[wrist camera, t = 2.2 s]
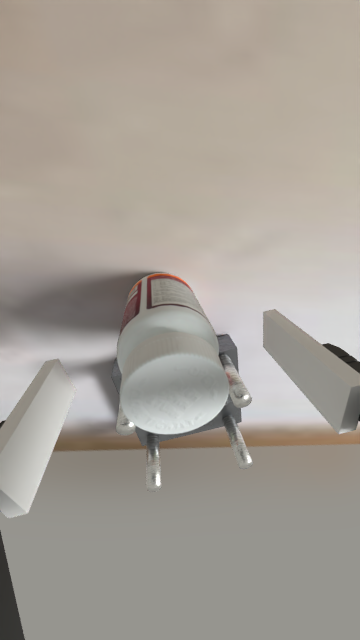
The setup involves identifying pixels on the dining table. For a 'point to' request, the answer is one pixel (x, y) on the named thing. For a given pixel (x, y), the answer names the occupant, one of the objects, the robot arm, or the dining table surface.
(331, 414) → the robot arm
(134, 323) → the pill bottle
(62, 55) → the dining table surface
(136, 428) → the chassis
